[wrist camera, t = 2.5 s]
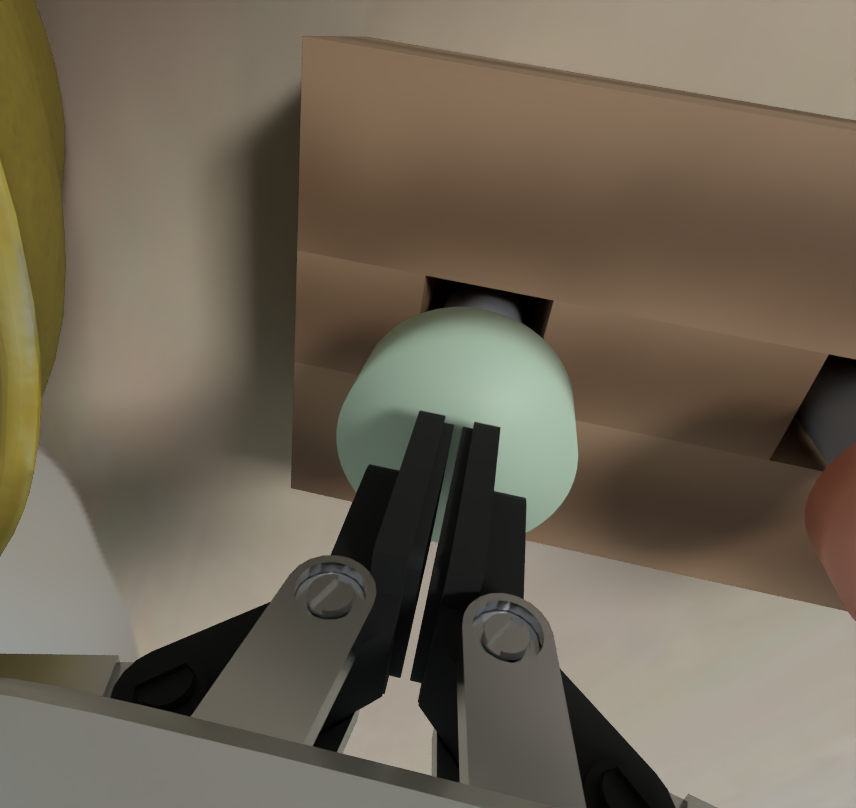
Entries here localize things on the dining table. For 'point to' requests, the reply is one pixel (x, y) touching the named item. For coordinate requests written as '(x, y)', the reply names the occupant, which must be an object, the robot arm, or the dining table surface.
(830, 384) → the red button
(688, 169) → the button panel
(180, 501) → the dining table surface
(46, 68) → the planter bowl
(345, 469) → the green button
